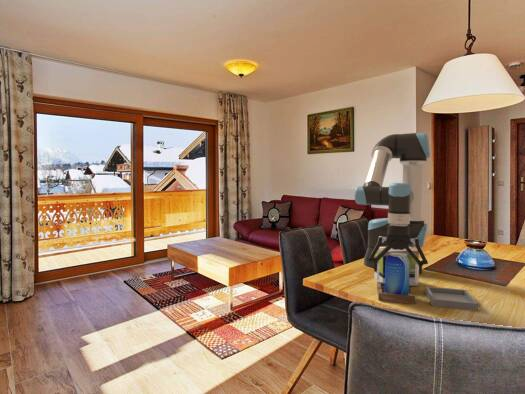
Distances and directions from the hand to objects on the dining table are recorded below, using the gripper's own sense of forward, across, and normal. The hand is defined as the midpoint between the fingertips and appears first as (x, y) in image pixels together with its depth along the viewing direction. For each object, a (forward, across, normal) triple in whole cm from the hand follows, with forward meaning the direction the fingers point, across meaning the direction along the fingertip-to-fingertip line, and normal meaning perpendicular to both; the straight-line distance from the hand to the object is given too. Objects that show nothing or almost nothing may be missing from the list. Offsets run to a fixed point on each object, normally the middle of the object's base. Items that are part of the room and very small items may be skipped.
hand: (396, 280), depth 125 cm
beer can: (+6, 0, 0) cm, 6 cm away
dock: (+6, 0, 0) cm, 6 cm away
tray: (+6, +18, 0) cm, 19 cm away
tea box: (+6, +1, +16) cm, 17 cm away
